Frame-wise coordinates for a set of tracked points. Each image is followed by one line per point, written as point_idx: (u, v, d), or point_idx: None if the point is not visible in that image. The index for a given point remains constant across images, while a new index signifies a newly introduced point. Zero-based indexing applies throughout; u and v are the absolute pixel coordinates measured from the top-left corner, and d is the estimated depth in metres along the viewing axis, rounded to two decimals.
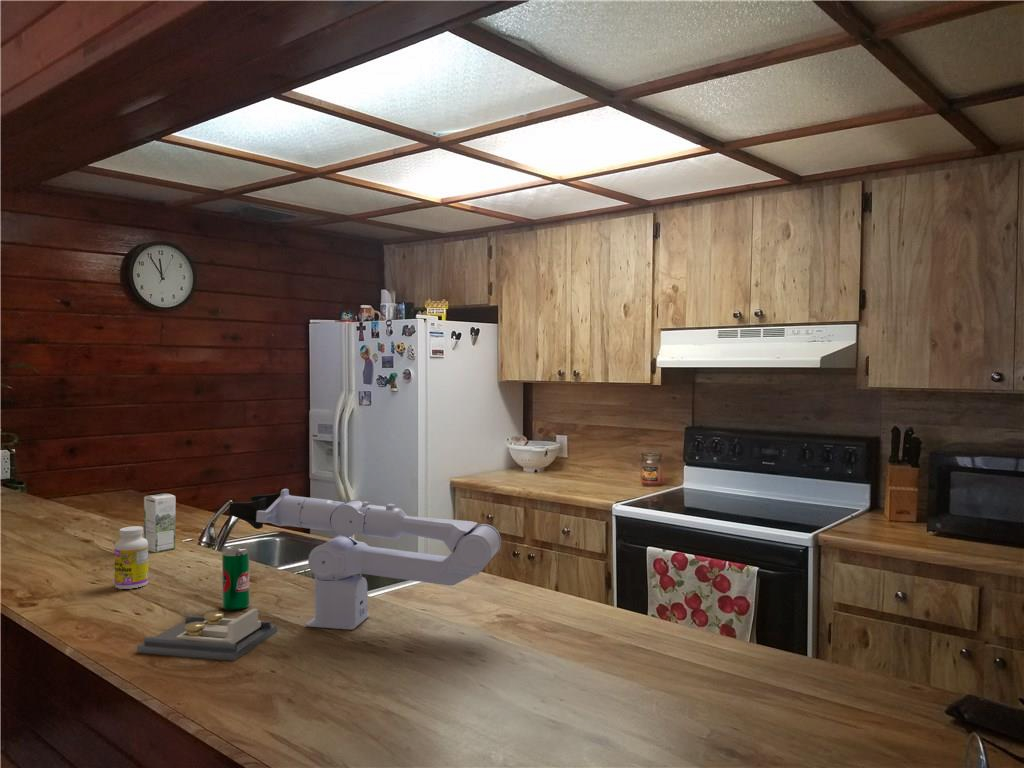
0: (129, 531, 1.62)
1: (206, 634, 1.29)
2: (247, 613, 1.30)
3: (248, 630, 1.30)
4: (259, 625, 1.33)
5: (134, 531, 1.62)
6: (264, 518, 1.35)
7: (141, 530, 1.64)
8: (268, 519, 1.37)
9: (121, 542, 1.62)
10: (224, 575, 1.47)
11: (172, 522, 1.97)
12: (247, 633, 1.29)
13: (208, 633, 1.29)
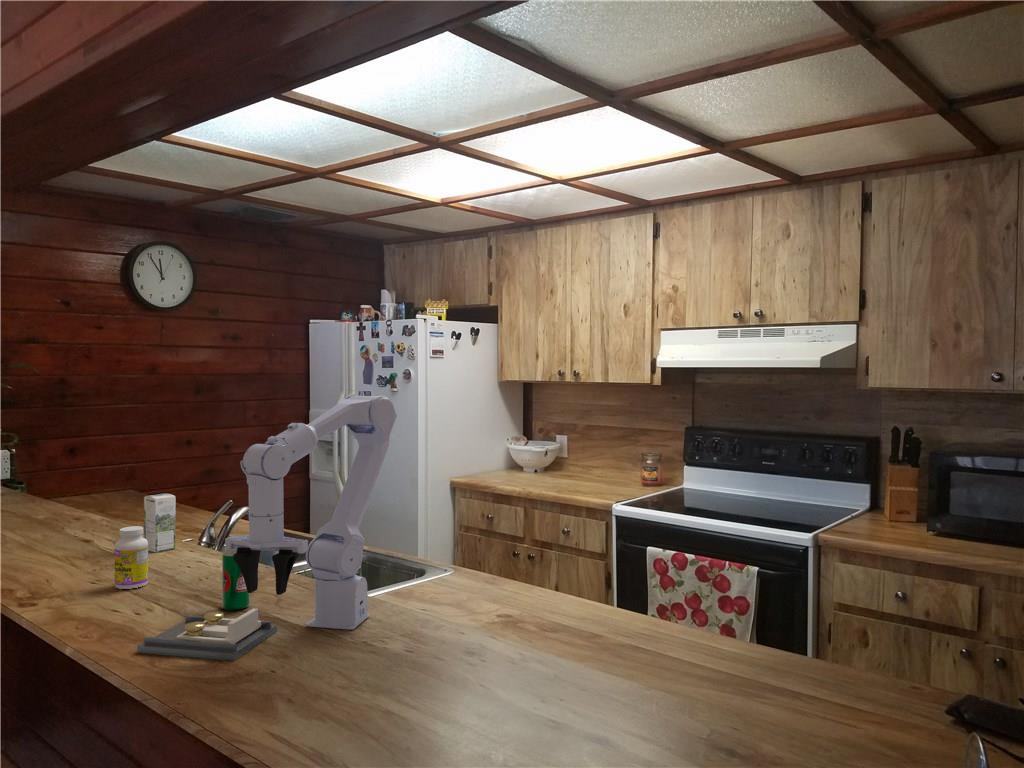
0: (129, 531, 1.62)
1: (206, 634, 1.29)
2: (247, 613, 1.30)
3: (248, 630, 1.30)
4: (259, 625, 1.33)
5: (134, 531, 1.62)
6: (305, 542, 1.27)
7: (141, 530, 1.64)
8: None
9: (121, 542, 1.62)
10: (224, 575, 1.47)
11: (172, 522, 1.97)
12: (247, 633, 1.29)
13: (208, 633, 1.29)
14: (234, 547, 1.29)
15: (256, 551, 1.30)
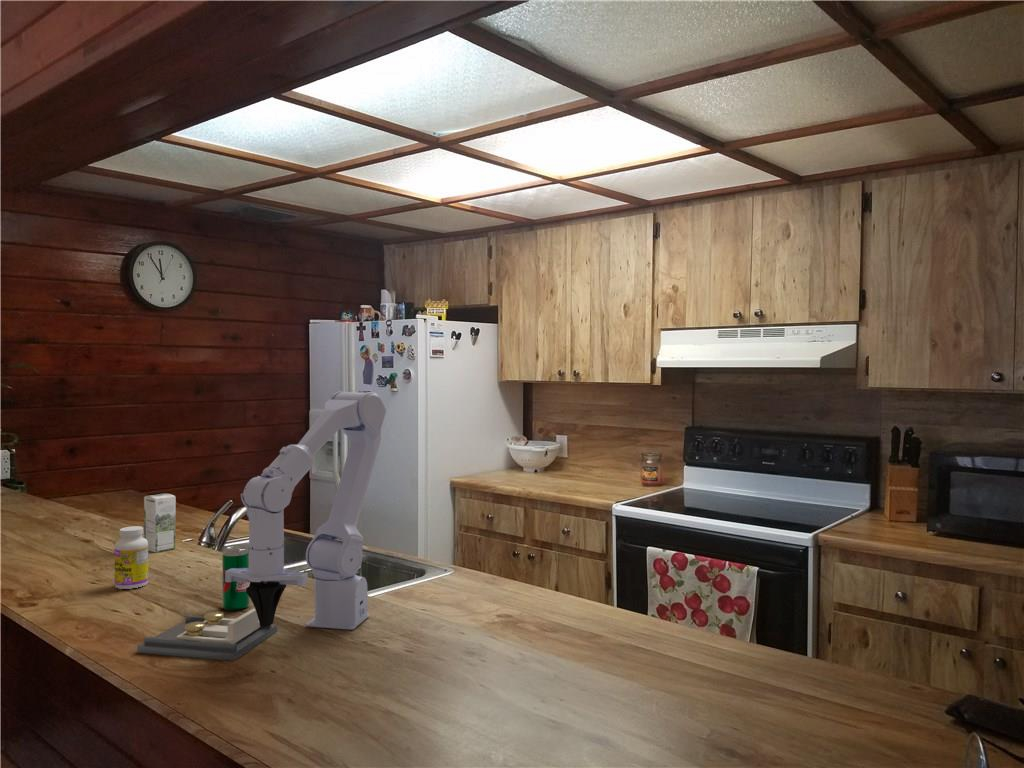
0: (129, 531, 1.62)
1: (206, 634, 1.29)
2: (247, 613, 1.30)
3: (248, 630, 1.30)
4: (259, 625, 1.33)
5: (134, 531, 1.62)
6: (305, 575, 1.27)
7: (141, 530, 1.64)
8: None
9: (121, 542, 1.62)
10: (224, 575, 1.47)
11: (172, 522, 1.97)
12: (247, 633, 1.29)
13: (208, 633, 1.29)
14: (234, 579, 1.29)
15: None
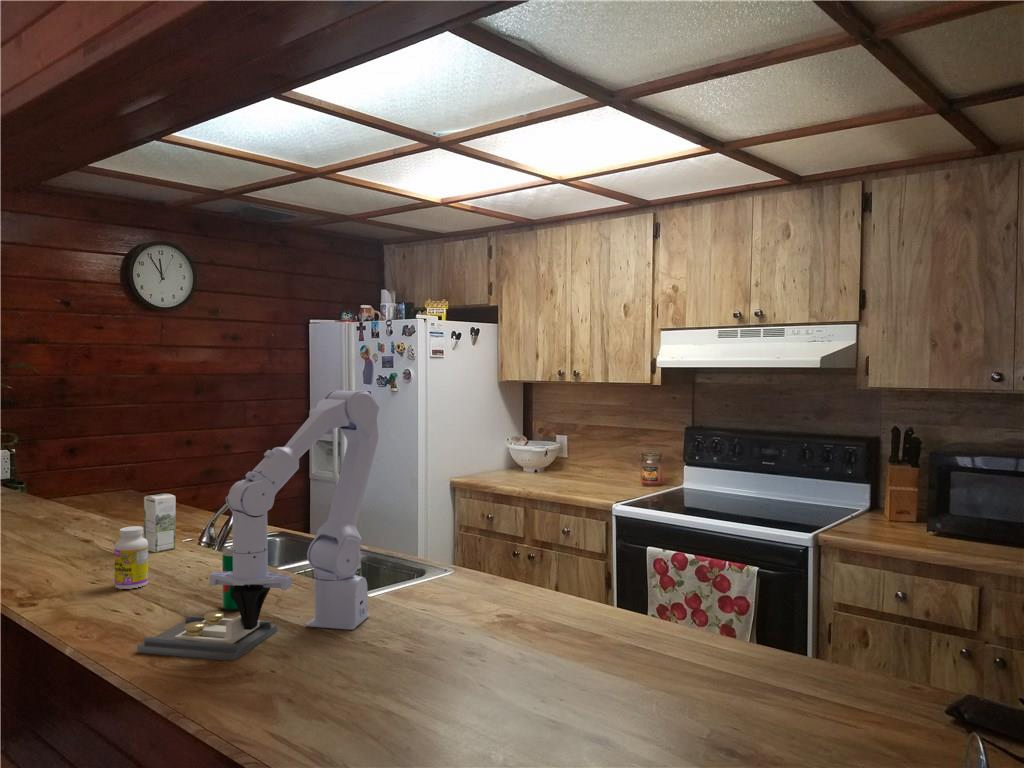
0: (129, 531, 1.62)
1: (205, 634, 1.29)
2: None
3: (247, 630, 1.30)
4: (258, 625, 1.33)
5: (134, 531, 1.62)
6: (289, 578, 1.27)
7: (141, 530, 1.64)
8: None
9: (121, 542, 1.62)
10: None
11: (172, 522, 1.97)
12: (246, 633, 1.29)
13: (207, 633, 1.29)
14: (218, 583, 1.29)
15: None
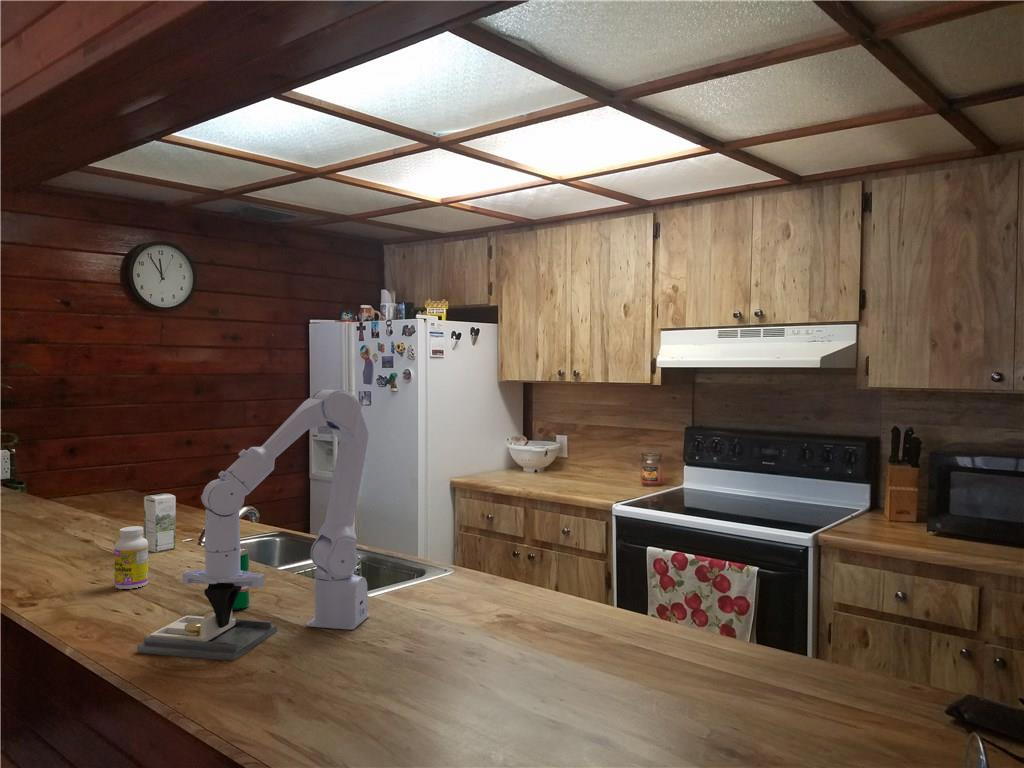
0: (129, 531, 1.62)
1: (180, 632, 1.30)
2: None
3: (222, 628, 1.31)
4: (233, 623, 1.34)
5: (134, 531, 1.62)
6: (261, 577, 1.28)
7: (141, 530, 1.64)
8: None
9: (121, 542, 1.62)
10: None
11: (172, 522, 1.97)
12: (221, 631, 1.30)
13: (182, 631, 1.30)
14: (191, 581, 1.30)
15: None
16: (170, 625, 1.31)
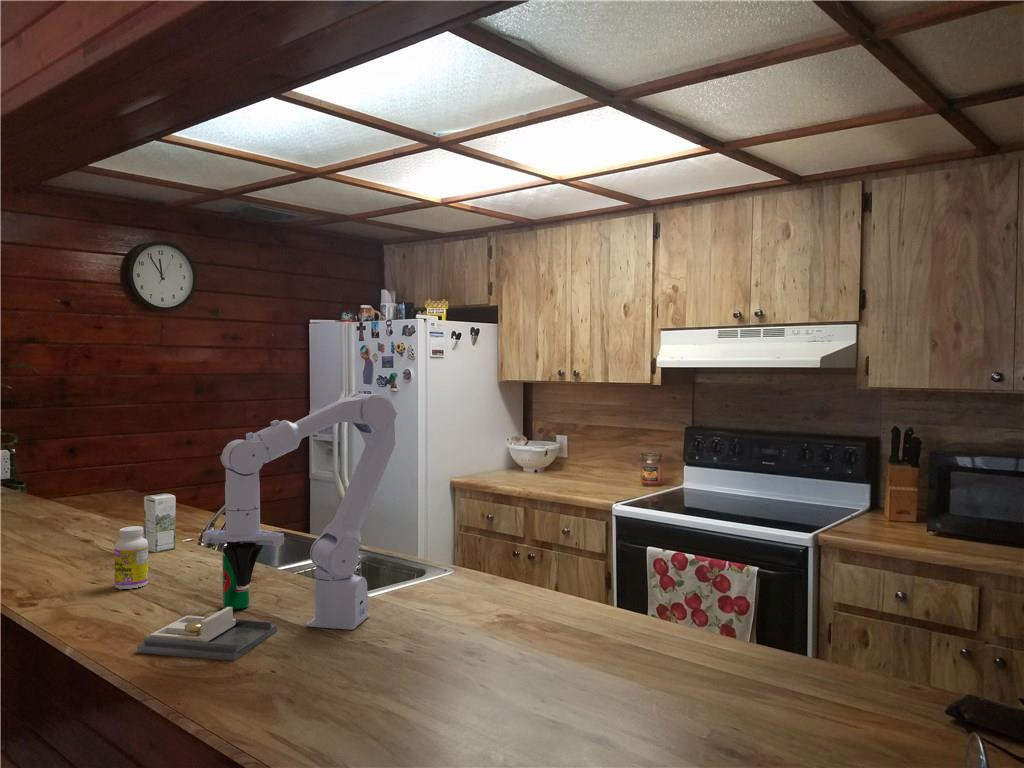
0: (129, 531, 1.62)
1: (180, 632, 1.30)
2: (221, 611, 1.31)
3: (222, 628, 1.31)
4: (234, 623, 1.34)
5: (134, 531, 1.62)
6: (281, 535, 1.30)
7: (141, 530, 1.64)
8: None
9: (121, 542, 1.62)
10: (224, 575, 1.47)
11: (172, 522, 1.97)
12: (221, 631, 1.30)
13: (182, 631, 1.30)
14: (211, 541, 1.32)
15: None
16: (170, 625, 1.31)
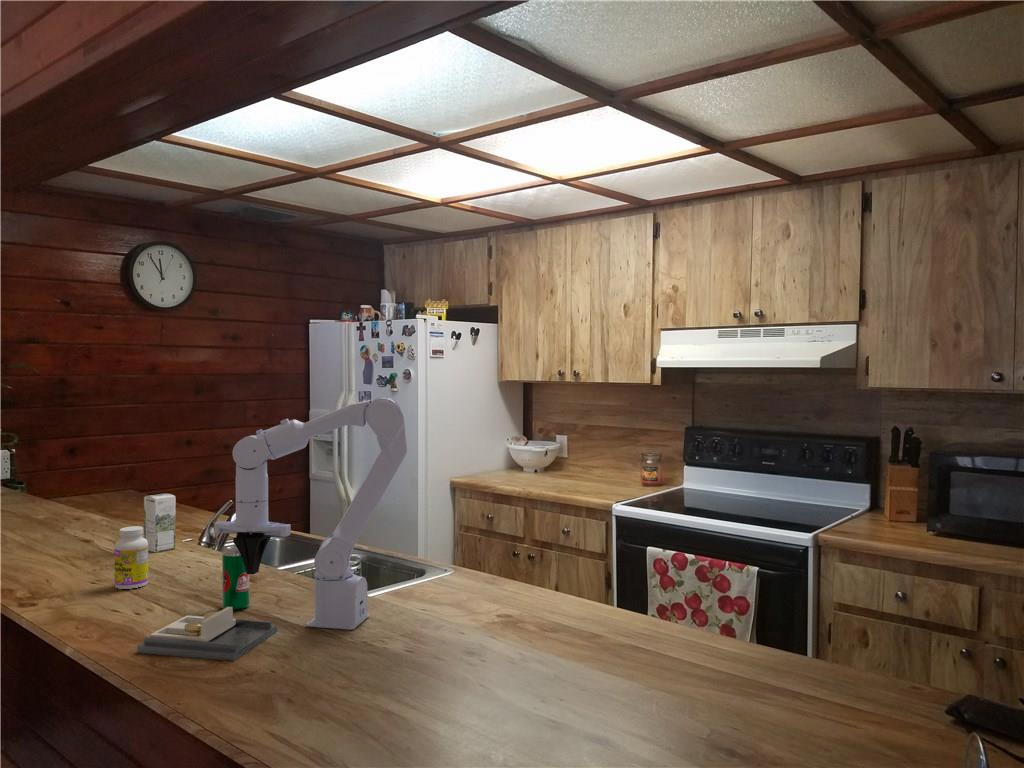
0: (129, 531, 1.62)
1: (180, 632, 1.30)
2: (221, 611, 1.31)
3: (222, 628, 1.31)
4: (234, 623, 1.34)
5: (134, 531, 1.62)
6: (288, 526, 1.37)
7: (141, 530, 1.64)
8: None
9: (121, 542, 1.62)
10: (224, 575, 1.47)
11: (172, 522, 1.97)
12: (221, 631, 1.30)
13: (182, 631, 1.30)
14: (222, 531, 1.39)
15: None
16: (170, 625, 1.31)
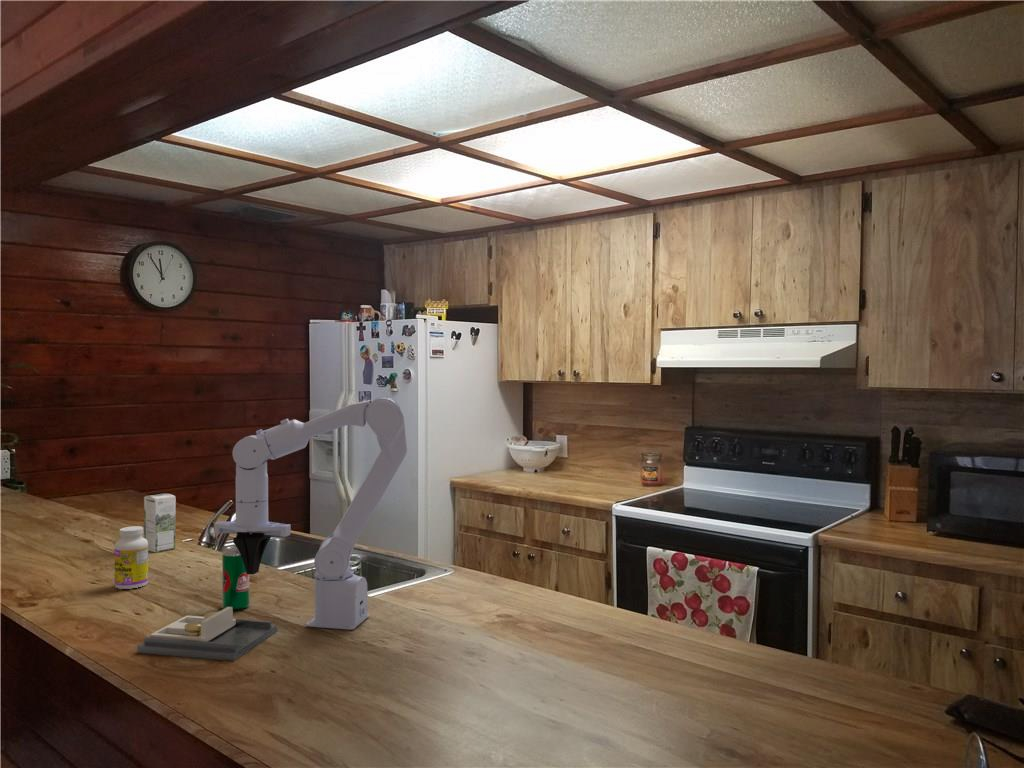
0: (129, 531, 1.62)
1: (180, 632, 1.30)
2: (221, 611, 1.31)
3: (222, 628, 1.31)
4: (234, 623, 1.34)
5: (134, 531, 1.62)
6: (288, 526, 1.37)
7: (141, 530, 1.64)
8: None
9: (121, 542, 1.62)
10: (224, 575, 1.47)
11: (172, 522, 1.97)
12: (221, 631, 1.30)
13: (182, 631, 1.30)
14: (222, 531, 1.39)
15: None
16: (170, 625, 1.31)
